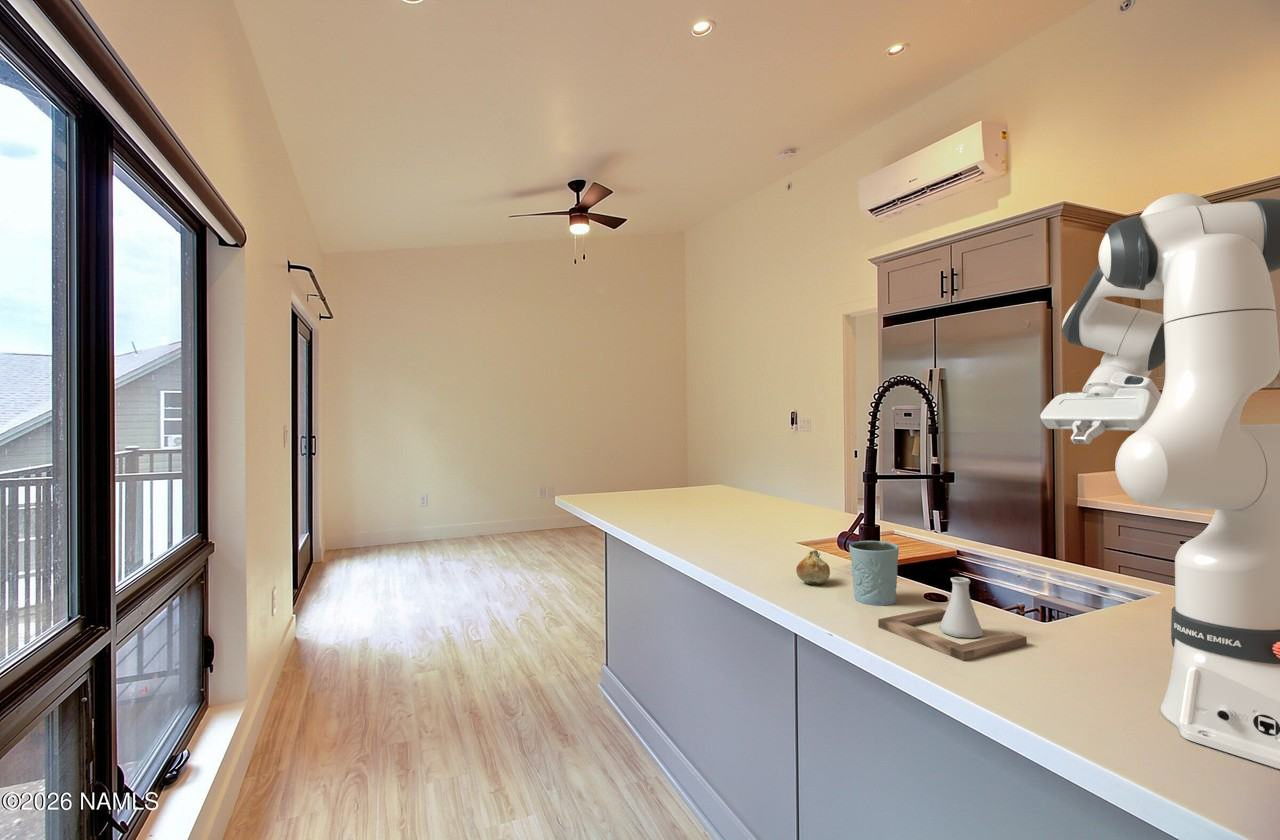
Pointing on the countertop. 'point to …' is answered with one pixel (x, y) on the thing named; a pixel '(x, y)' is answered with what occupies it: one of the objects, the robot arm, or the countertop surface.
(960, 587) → the flask
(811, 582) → the onion
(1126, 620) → the countertop surface
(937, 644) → the walnut bay
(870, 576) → the blue embossed cup
